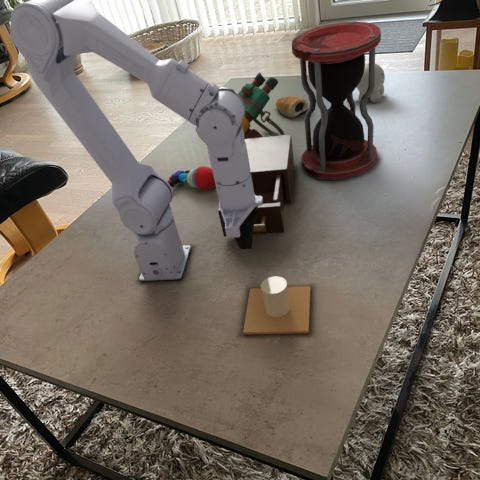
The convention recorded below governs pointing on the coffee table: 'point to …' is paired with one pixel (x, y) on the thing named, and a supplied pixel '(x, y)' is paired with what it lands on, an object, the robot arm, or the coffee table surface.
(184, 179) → the toy figure
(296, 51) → the hourglass
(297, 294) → the cork mat
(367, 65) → the round bodied animal figurine
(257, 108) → the binoculars
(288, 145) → the cabinet
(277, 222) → the drawer
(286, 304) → the cream cylinder
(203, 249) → the coffee table surface
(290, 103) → the pastry
